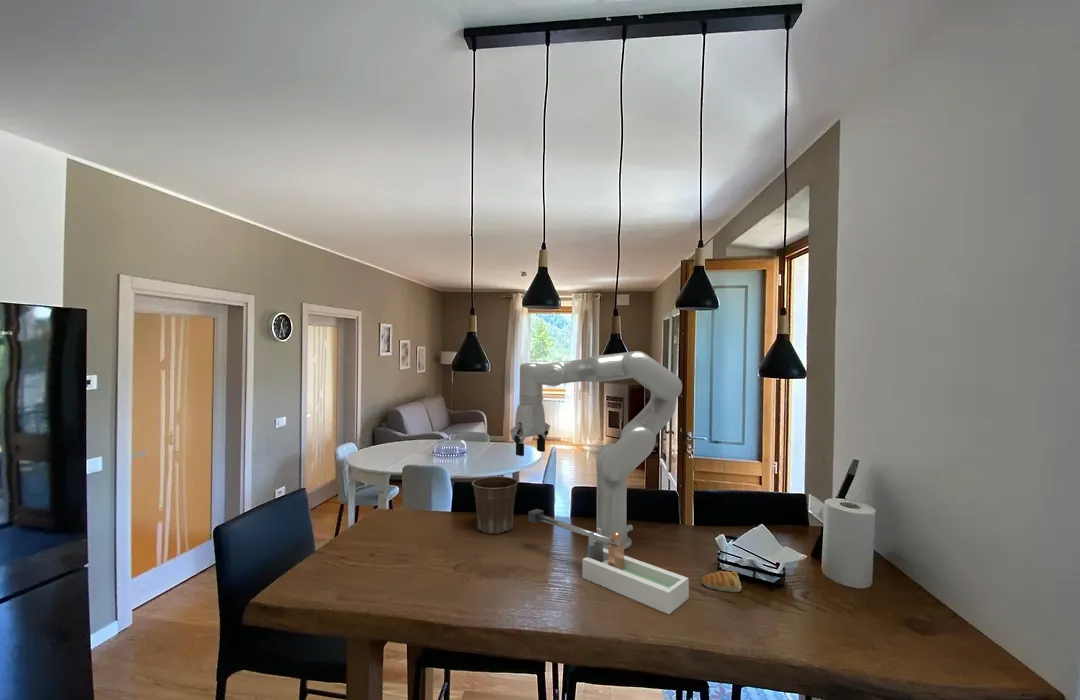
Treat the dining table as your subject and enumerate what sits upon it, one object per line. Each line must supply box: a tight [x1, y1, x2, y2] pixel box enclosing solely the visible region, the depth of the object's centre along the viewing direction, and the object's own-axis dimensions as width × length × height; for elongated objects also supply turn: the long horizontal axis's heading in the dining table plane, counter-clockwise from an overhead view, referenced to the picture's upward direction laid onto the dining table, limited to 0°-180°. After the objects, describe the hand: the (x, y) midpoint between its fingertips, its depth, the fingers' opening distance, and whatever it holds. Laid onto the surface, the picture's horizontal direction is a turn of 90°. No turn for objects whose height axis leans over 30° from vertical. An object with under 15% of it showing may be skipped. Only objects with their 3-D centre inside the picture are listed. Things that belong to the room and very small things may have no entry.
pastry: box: [701, 570, 743, 593], centre depth 120 cm, size 9×7×4 cm
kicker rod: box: [527, 508, 625, 570], centre depth 133 cm, size 4×33×10 cm, turn 46°
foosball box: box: [581, 527, 690, 615], centre depth 119 cm, size 10×26×12 cm, turn 46°
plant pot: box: [471, 476, 519, 535], centre depth 160 cm, size 16×16×16 cm
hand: (530, 453), depth 149 cm, fingers open, 9 cm apart
